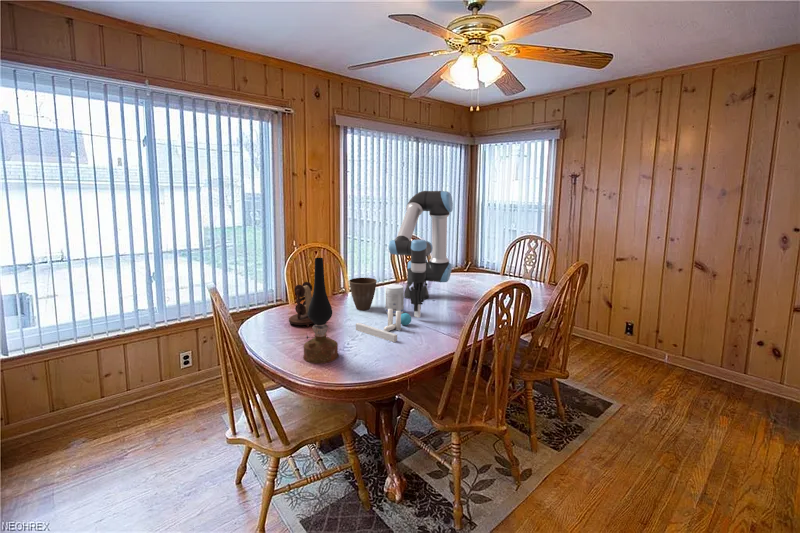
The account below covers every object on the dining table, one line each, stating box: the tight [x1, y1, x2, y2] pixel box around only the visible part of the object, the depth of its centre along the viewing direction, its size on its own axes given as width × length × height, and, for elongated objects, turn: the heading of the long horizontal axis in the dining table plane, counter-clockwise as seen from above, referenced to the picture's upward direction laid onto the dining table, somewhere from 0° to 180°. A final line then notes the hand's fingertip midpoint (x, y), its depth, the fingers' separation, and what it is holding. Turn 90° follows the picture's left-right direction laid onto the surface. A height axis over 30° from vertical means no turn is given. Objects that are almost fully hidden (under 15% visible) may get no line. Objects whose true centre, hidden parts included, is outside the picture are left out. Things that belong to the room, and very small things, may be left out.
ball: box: [401, 312, 412, 326], centre depth 203 cm, size 6×6×6 cm
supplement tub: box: [385, 284, 405, 316], centre depth 222 cm, size 10×10×15 cm
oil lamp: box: [302, 257, 339, 364], centre depth 163 cm, size 14×15×40 cm
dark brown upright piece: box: [288, 281, 314, 328], centre depth 203 cm, size 15×15×20 cm
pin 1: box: [387, 309, 394, 326], centre depth 199 cm, size 2×2×9 cm
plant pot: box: [348, 277, 377, 311], centre depth 229 cm, size 15×15×16 cm
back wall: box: [355, 322, 398, 343], centre depth 188 cm, size 2×24×3 cm, turn 49°
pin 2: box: [395, 311, 402, 331], centre depth 196 cm, size 2×2×9 cm
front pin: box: [383, 322, 396, 332], centre depth 197 cm, size 2×2×9 cm
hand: (417, 316), depth 211 cm, fingers closed
